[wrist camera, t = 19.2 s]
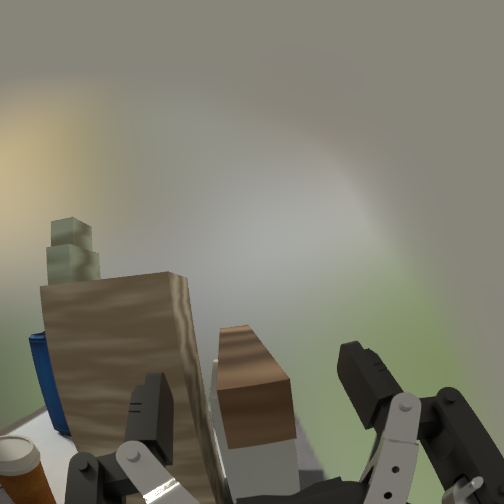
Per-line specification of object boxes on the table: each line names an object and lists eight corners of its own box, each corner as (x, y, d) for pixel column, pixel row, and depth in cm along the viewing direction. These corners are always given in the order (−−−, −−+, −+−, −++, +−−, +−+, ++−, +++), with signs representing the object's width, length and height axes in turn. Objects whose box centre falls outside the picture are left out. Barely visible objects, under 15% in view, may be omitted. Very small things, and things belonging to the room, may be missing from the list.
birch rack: (227, 535, 21) (161, 194, 26) (118, 531, 19) (38, 218, 24) (224, 477, 35) (181, 227, 39) (139, 479, 33) (90, 240, 38)
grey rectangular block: (303, 528, 21) (288, 387, 24) (243, 538, 20) (209, 399, 23) (280, 469, 36) (264, 352, 38) (236, 476, 35) (213, 360, 38)
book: (70, 439, 44) (41, 331, 46) (50, 433, 44) (24, 331, 47) (117, 409, 65) (99, 321, 68) (98, 406, 66) (81, 322, 69)
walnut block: (296, 437, 14) (289, 378, 15) (228, 449, 14) (216, 390, 14) (252, 351, 40) (248, 324, 40) (224, 355, 40) (220, 328, 40)
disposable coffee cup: (24, 536, 11) (-20, 466, 13) (11, 501, 17) (-22, 437, 18) (79, 523, 19) (43, 456, 20) (58, 491, 25) (30, 430, 26)
